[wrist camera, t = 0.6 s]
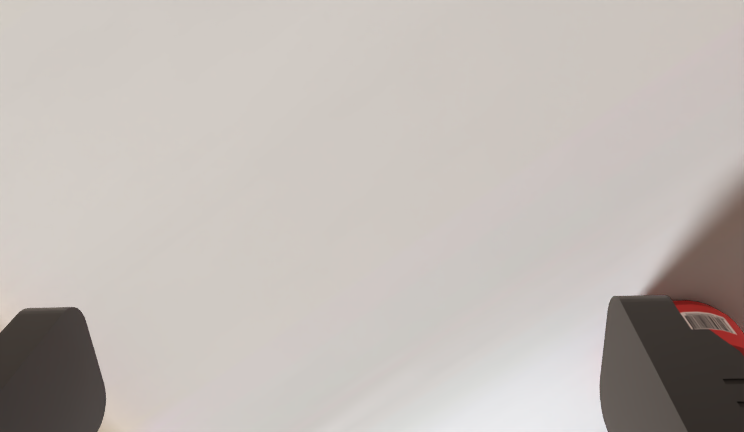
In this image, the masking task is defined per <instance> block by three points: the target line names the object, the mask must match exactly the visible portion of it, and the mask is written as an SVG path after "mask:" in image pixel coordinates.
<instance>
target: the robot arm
mask: <svg viewBox="0 0 744 432" xmlns="http://www.w3.org/2000/svg"><path fill="white" fill-rule="evenodd" d="M600 401H601V408H602V414H603V418H604V422H605V425H606V428H607V430H608V432H744V356H743V355H742V353H741V352H740V351H739V350H738V349H736V348H735V347H733V346H732V345H731V344H729V343H728V342H726V341H725V340H724V339H722V338H721V337H719V336H718V335H717V334H715V333H714V332H712V331H711V330H710V329H690V328H689V326H688V325H687V323H686V321H685V320H684V318H683V317H682V315H681V314H680V312H679V310H678V309H677V307H676V306H675V304H674V303H673V301H672V300H671V298H670V297H668V296H667V295H644V296H613V297H612V298H611V300H610V303H609V307H608V313H607V322H606V331H605V340H604V349H603V357H602V366H601V375H600ZM105 405H106V392H105V386H104V382H103V379H102V375H101V372H100V368H99V365H98V361H97V358H96V354H95V351H94V347H93V344H92V341H91V337H90V334H89V330H88V327H87V323H86V320H85V317H84V316H83V314H82V312H81V311H80V310H79V309H78V308H75V307H60V308H27V309H23V310H22V311H20V312H19V313H18V314H17V315H16V316H15V317H14V318H13V320H12V321H11V322H10V323H9V324H8V325H7V326H6V327H5V328H4V329H3V331H2V332H1V333H0V432H97V431H98V429H99V427H100V425H101V423H102V420H103V416H104V412H105Z"/></svg>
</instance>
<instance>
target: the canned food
mask: <svg viewBox="0 0 744 432" xmlns="http://www.w3.org/2000/svg"><path fill="white" fill-rule="evenodd" d="M673 303H674V304H675V306H676V307H677V309H678V310H679V312H680V314H681V315H682V317H683V318H684V320H685V321H686V323H687V325H688V326H689V328H690V329H710V330H711V331H712V332H714V333H715V334H717V335H718V336H719V337H721V338H722V339H724V340H725V341H726V342H728V343H729V344H731V345H732V346H733V347H735V348H736V349H738V350H739V351H740V352H741V353H742V355H743V356H744V333H743V332H742V330H741V329H740V328H739V327H738V325H737V324H736V323H735V322H734V321H733V320H732V319H731V318H730V317H729V316H728V315H726V314H724V313H722V312H721V311H719V310H717V309H715V308H713V307H711V306H710V305H707V304H703V303H700V302H695V301H688V300H682V301H673Z"/></svg>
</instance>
